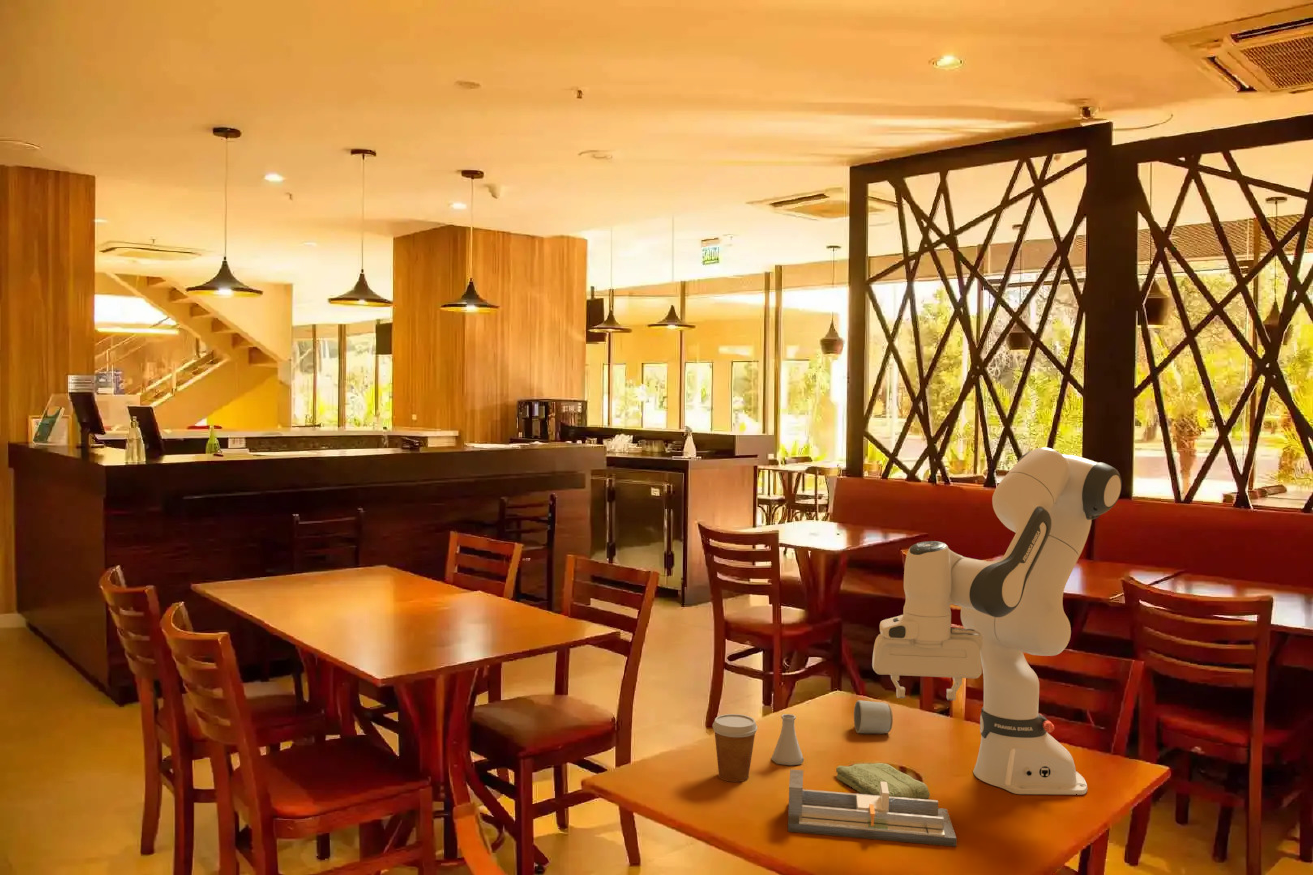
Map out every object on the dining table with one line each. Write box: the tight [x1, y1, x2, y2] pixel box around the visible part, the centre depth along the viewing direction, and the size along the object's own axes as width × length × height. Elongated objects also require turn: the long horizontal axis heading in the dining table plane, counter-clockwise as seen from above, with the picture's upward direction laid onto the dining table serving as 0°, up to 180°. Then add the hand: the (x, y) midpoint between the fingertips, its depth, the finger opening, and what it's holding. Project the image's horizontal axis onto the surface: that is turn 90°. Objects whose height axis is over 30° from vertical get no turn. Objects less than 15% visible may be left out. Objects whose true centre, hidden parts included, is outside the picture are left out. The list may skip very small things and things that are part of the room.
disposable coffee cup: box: [711, 713, 758, 783], centre depth 203 cm, size 10×10×12 cm
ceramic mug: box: [853, 699, 894, 735], centre depth 235 cm, size 11×8×8 cm
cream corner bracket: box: [856, 781, 889, 826], centre depth 179 cm, size 6×10×5 cm, turn 171°
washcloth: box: [835, 762, 930, 800], centre depth 199 cm, size 13×18×3 cm
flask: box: [770, 713, 804, 766], centre depth 213 cm, size 7×7×10 cm
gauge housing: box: [787, 769, 957, 848], centre depth 181 cm, size 30×13×8 cm, turn 81°
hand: (925, 698), depth 185 cm, fingers open, 8 cm apart
